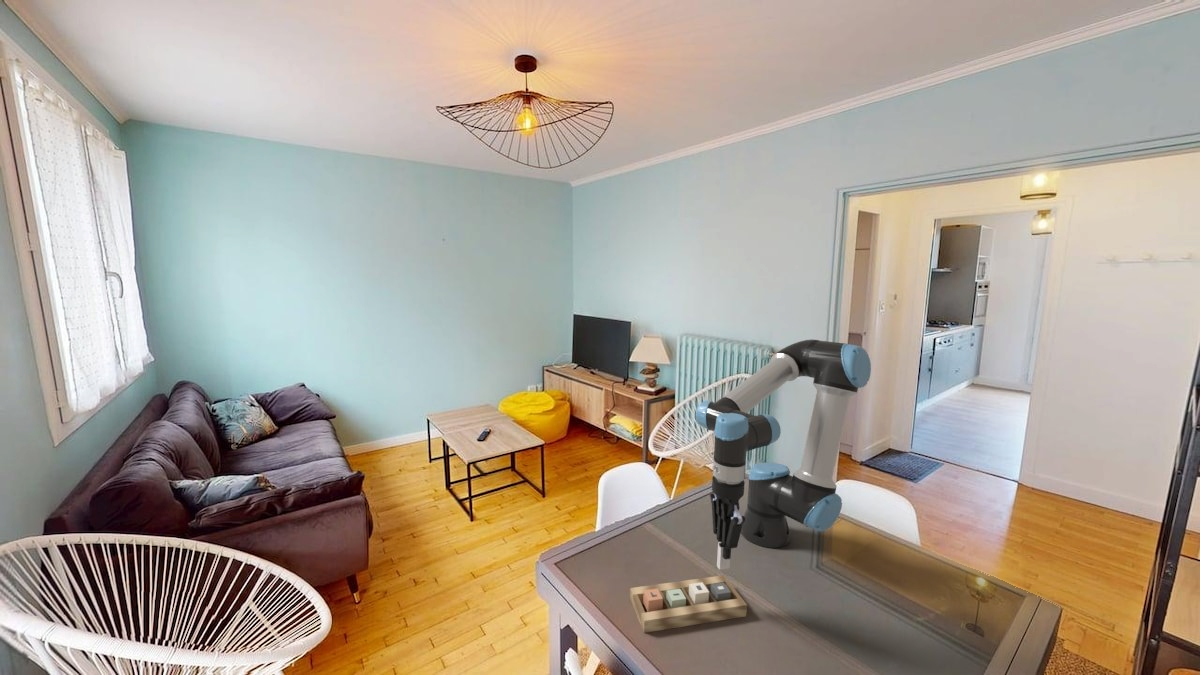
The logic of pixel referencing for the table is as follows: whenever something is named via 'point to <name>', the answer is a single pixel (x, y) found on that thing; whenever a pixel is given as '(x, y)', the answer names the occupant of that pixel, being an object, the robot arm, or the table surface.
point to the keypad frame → (687, 606)
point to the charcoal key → (720, 592)
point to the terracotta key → (652, 600)
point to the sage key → (675, 598)
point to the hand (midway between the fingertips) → (723, 567)
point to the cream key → (698, 593)
